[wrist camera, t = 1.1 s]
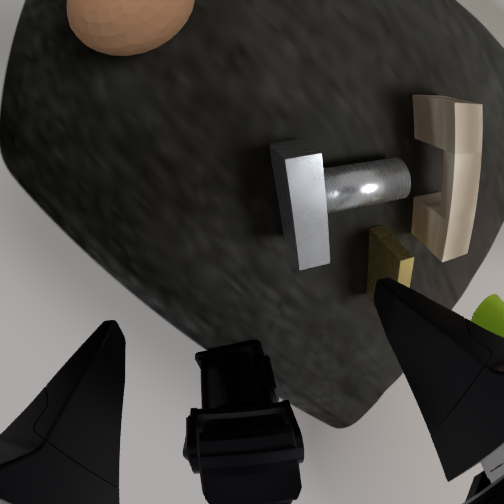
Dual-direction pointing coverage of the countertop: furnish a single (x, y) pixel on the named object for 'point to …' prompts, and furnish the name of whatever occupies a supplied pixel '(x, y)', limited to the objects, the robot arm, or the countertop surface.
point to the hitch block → (449, 173)
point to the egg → (127, 23)
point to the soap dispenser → (490, 315)
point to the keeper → (387, 259)
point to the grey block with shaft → (326, 194)
